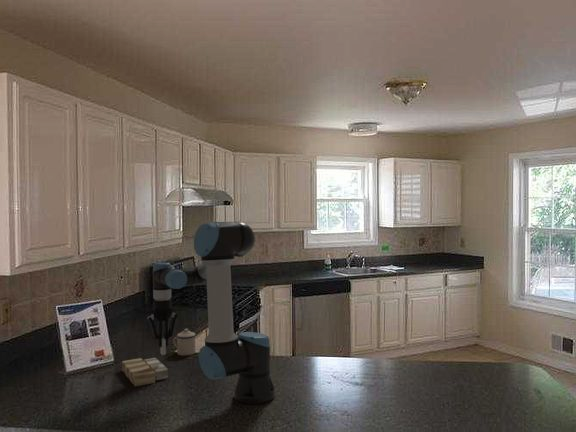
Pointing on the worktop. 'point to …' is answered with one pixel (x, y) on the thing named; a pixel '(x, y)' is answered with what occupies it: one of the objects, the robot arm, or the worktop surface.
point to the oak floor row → (138, 372)
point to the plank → (157, 368)
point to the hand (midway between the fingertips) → (163, 354)
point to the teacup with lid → (185, 343)
